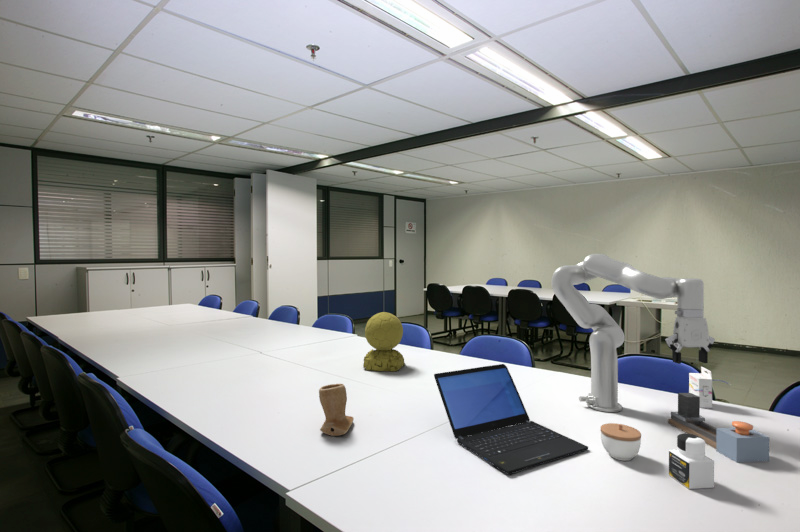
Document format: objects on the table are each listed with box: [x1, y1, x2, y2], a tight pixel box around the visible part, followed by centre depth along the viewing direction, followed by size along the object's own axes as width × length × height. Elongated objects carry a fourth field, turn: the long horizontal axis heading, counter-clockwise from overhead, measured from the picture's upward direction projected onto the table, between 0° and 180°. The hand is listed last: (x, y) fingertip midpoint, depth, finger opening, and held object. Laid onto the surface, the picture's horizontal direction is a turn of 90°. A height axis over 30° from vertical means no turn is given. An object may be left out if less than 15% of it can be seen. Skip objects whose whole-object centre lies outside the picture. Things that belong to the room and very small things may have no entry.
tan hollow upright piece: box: [318, 383, 354, 437], centre depth 144 cm, size 15×12×15 cm
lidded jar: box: [600, 422, 642, 462], centre depth 123 cm, size 11×11×9 cm
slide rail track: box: [667, 411, 718, 450], centre depth 137 cm, size 8×22×4 cm, turn 3°
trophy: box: [362, 311, 405, 372], centre depth 227 cm, size 22×22×30 cm
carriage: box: [672, 392, 706, 425], centre depth 144 cm, size 7×6×10 cm
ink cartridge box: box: [688, 366, 713, 409], centre depth 166 cm, size 9×5×15 cm, turn 168°
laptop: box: [433, 363, 589, 475], centre depth 135 cm, size 33×38×19 cm
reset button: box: [731, 420, 754, 436], centre depth 123 cm, size 5×5×4 cm
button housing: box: [715, 427, 770, 463], centre depth 123 cm, size 10×7×7 cm
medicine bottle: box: [668, 432, 715, 490], centre depth 108 cm, size 7×7×12 cm
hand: (689, 362), depth 144 cm, fingers open, 9 cm apart
